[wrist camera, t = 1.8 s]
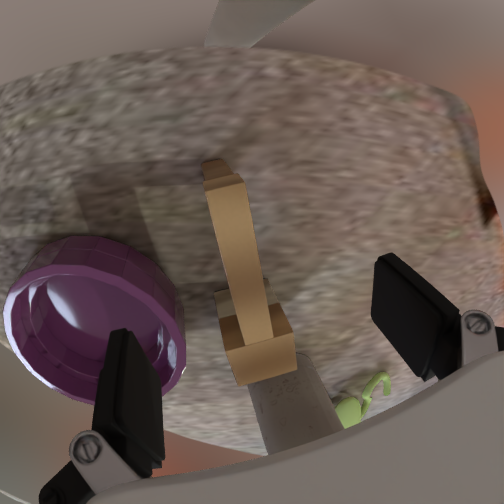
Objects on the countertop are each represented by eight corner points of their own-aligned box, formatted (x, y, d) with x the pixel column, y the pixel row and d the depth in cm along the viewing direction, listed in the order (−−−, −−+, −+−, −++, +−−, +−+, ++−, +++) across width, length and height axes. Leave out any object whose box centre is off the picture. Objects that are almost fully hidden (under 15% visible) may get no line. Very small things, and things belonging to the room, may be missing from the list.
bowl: (-2, 260, 19) (-27, 291, 15) (149, 208, 21) (141, 236, 16) (74, 377, 27) (67, 412, 23) (203, 353, 29) (209, 392, 24)
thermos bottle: (276, 401, 35) (348, 590, 11) (232, 383, 32) (303, 615, 8) (324, 366, 34) (424, 562, 10) (285, 342, 30) (398, 593, 6)
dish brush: (178, 169, 20) (176, 198, 14) (244, 153, 20) (272, 175, 14) (224, 328, 28) (238, 386, 21) (273, 315, 28) (297, 369, 22)
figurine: (254, 464, 46) (261, 488, 41) (281, 386, 34) (295, 423, 29) (340, 445, 50) (350, 466, 46) (396, 363, 39) (415, 389, 34)
